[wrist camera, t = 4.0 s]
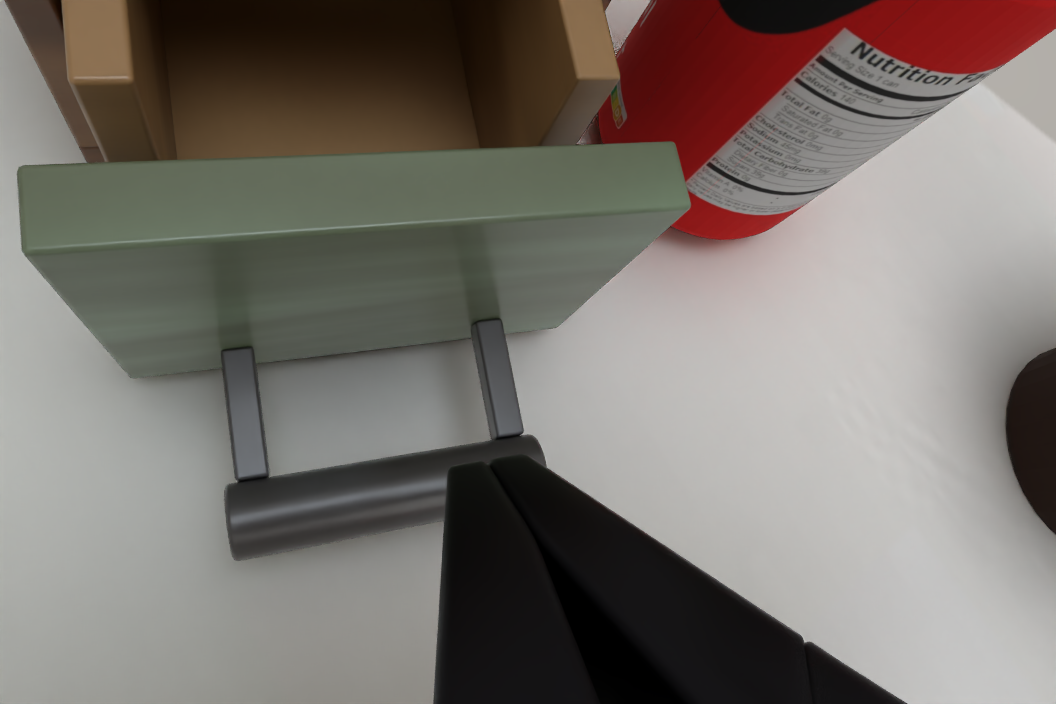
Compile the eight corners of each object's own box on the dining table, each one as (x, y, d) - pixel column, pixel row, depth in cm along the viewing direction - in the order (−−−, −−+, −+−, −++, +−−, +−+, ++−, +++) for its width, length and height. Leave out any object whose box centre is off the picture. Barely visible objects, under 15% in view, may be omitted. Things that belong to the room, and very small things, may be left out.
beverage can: (794, 97, 23) (1245, -323, 12) (774, 283, 21) (1291, -19, 10) (604, 22, 22) (919, -526, 11) (563, 212, 20) (898, -222, 9)
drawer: (592, 492, 17) (757, 452, 11) (148, 579, 14) (40, 591, 8) (478, -45, 20) (560, -311, 14) (89, -64, 17) (-22, -409, 11)
